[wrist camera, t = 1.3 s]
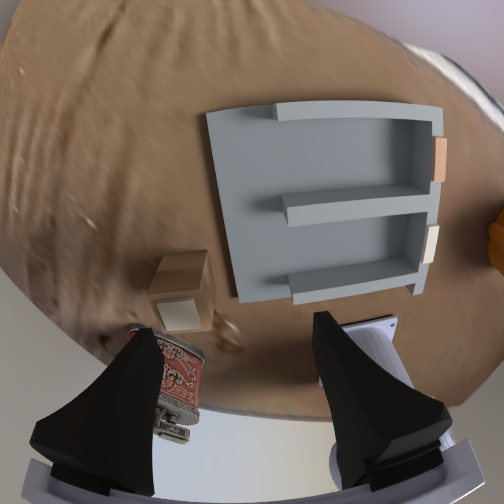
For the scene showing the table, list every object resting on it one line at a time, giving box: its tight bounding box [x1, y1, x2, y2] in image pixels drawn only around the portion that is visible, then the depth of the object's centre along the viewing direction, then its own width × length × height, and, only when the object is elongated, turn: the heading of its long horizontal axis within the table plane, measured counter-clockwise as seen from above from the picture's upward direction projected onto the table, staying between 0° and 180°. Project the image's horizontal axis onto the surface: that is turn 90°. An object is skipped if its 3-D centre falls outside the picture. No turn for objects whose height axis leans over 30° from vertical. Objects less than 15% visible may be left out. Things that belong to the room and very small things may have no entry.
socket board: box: [206, 101, 447, 305], centre depth 18 cm, size 14×15×4 cm
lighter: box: [126, 323, 205, 444], centre depth 22 cm, size 8×3×10 cm, turn 56°
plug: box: [147, 250, 216, 334], centre depth 20 cm, size 4×4×5 cm
